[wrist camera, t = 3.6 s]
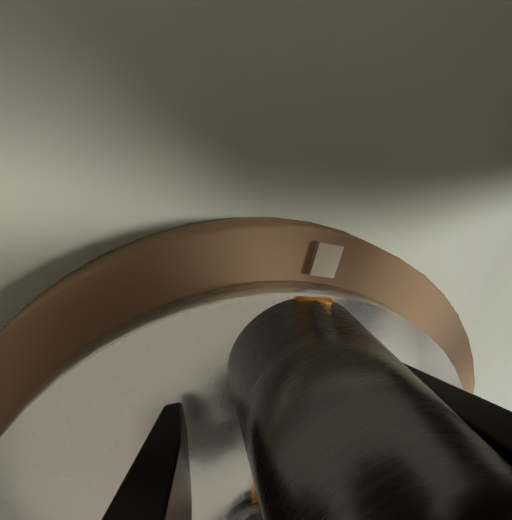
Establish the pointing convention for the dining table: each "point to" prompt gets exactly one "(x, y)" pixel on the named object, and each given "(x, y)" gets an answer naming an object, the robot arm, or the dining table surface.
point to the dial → (258, 415)
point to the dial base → (209, 278)
